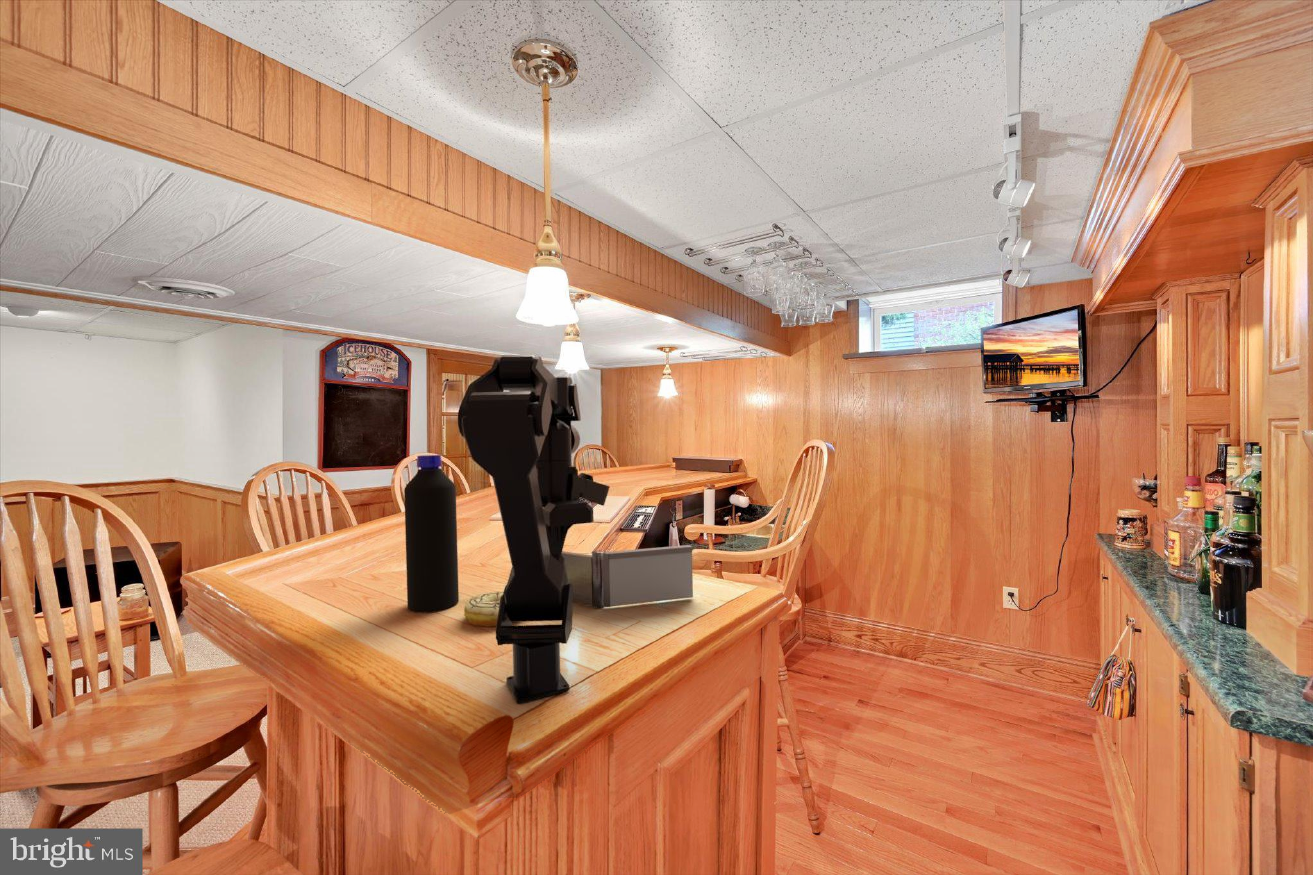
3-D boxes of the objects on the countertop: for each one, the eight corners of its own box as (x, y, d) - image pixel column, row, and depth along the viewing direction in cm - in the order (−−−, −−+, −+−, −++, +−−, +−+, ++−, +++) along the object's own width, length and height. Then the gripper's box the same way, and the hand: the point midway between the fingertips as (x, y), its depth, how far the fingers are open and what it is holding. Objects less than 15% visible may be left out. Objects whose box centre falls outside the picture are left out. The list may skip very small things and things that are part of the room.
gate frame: (542, 597, 100) (541, 545, 100) (550, 594, 102) (549, 543, 102) (599, 609, 93) (598, 553, 93) (606, 605, 95) (605, 551, 94)
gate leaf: (604, 607, 92) (603, 554, 92) (602, 604, 94) (601, 552, 94) (693, 597, 97) (692, 546, 97) (690, 595, 98) (689, 544, 98)
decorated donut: (527, 627, 86) (526, 604, 86) (458, 632, 84) (458, 609, 84) (531, 606, 96) (530, 585, 96) (470, 610, 94) (470, 589, 94)
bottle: (447, 612, 93) (443, 456, 92) (398, 613, 93) (393, 457, 93) (465, 596, 102) (462, 453, 101) (421, 597, 102) (417, 454, 101)
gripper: (626, 460, 73) (629, 570, 74) (582, 455, 90) (585, 545, 90) (549, 464, 68) (552, 582, 69) (517, 458, 85) (520, 553, 85)
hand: (554, 563), depth 78 cm, fingers closed
